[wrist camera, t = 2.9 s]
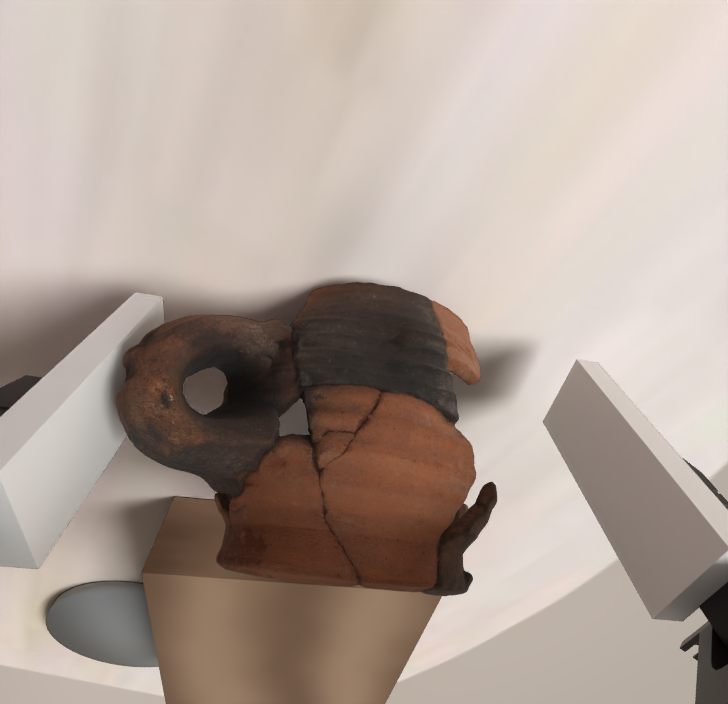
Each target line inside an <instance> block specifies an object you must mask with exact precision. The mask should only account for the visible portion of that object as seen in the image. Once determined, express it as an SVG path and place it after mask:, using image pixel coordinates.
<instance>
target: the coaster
mask: <svg viewBox="0 0 728 704" xmlns="http://www.w3.org/2000/svg"><path fill="white" fill-rule="evenodd" d="M46 626H47V629H48V631H49V633H50V634H51V635H52V636H53V638H54V639H55V640H57V641H58V642H59V643H60V644H62V645H63V646H65V647H66V648H68V649H70V650H72V651H73V652H76V653H78V654H80V655H83V656H85V657H88V658H91V659H94V660H98V661H101V662H106V663H110V664H116V665H122V666H131V667H159V664H158V659H157V653H156V648H155V643H154V637H153V632H152V627H151V621H150V616H149V611H148V605H147V600H146V595H145V589H144V584H141V583H134V582H122V581H106V582H95V583H89V584H84V585H80V586H77V587H74V588H72V589H69V590H67V591H66V592H64V593H62V594H61V595H60V596H59V597H58V598H57V599H56V600H55V602H54V604H53V605H52V607H51V609H50V610H49V612H48V614H47V617H46Z"/></svg>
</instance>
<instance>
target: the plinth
mask: <svg viewBox="0 0 728 704" xmlns="http://www.w3.org/2000/svg"><path fill="white" fill-rule="evenodd" d="M225 527H226V525H225V522H224V520H223V517H222V515H221V514H220V512H219V511H218V507H217V506H216V503H215V500H204V499H194V498H183V497H174V499H173V501H172V503H171V505H170V508H169V510H168V512H167V515H166V517H165V519H164V522H163V524H162V526H161V529H160V531H159V533H158V536H157V538H156V540H155V543H154V545H153V547H152V549H151V552H150V554H149V556H148V559H147V561H146V563H145V566H144V568H143V570H142V579H143V584H144V589H145V595H146V600H147V605H148V611H149V616H150V621H151V627H152V632H153V637H154V643H155V648H156V653H157V659H158V664H159V669H160V675H161V680H162V685H163V691H164V696H165V701H166V704H385V703H386V701H387V699H388V697H389V695H390V694H391V692H392V690H393V688H394V686H395V684H396V682H397V680H398V678H399V677H400V675H401V673H402V671H403V669H404V667H405V665H406V663H407V661H408V660H409V658H410V656H411V654H412V652H413V650H414V648H415V646H416V644H417V643H418V641H419V639H420V637H421V635H422V633H423V631H424V629H425V627H426V626H427V624H428V622H429V620H430V618H431V616H432V614H433V612H434V610H435V608H436V607H437V605H438V603H439V601H440V599H441V597H442V596H435V595H428V594H424V593H422V592H402V591H391V590H381V589H371V588H365V587H363V586H360V585H356V586H353V587H344V586H333V585H327V584H315V583H307V582H299V581H291V580H280V579H272V578H266V577H257V576H251V575H247V574H243V573H238V572H234V571H230V570H226V569H224V568H223V567H221V566H219V564H218V563H217V562H216V557H217V554H218V552H219V551H220V549H221V546H222V541H223V537H224V533H225Z"/></svg>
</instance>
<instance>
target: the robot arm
mask: <svg viewBox="0 0 728 704" xmlns="http://www.w3.org/2000/svg"><path fill="white" fill-rule="evenodd" d="M164 323H165V319H164V308H163V296H156V295H150V294H143V293H136V292H135V293H134V294H133V295H132V296H131V297H130V298H129V299H128V300H127V301H125V302H124V303H123V304H122V305H121V306H120V307H119V308H118V309H117V310H116V311H115V312H114V313H112V314H111V315H110V316H109V317H108V318H107V319H106V320H105V321H104V322H103V323H102V324H101V325H99V326H98V327H97V328H96V329H95V330H94V331H93V332H92V333H91V334H90V335H89V336H88V337H86V338H85V339H84V340H83V341H82V342H81V343H80V344H79V345H78V346H77V347H76V348H75V349H73V350H72V351H71V352H70V353H69V354H68V355H67V356H66V357H65V358H64V359H63V360H62V361H60V362H59V363H58V364H57V365H56V366H55V367H54V368H53V369H52V370H51V371H50V372H49V373H47V374H46V375H45V376H44V377H43V378H42V377H34V376H24V377H22V378H20V379H18V380H16V381H14V382H12V383H10V384H7V385H5V386H3V387H1V388H0V566H5V567H17V568H29V569H39V568H40V566H41V565H42V563H43V562H44V560H45V559H46V557H47V556H48V554H49V553H50V551H51V550H52V548H53V547H54V545H55V544H56V542H57V541H58V539H59V538H60V536H61V535H62V533H63V532H64V530H65V529H66V527H67V525H68V524H69V522H70V521H71V519H72V518H73V516H74V515H75V513H76V512H77V510H78V509H79V507H80V506H81V504H82V503H83V501H84V500H85V498H86V497H87V495H88V494H89V492H90V491H91V489H92V488H93V486H94V485H95V483H96V482H97V480H98V479H99V477H100V476H101V474H102V473H103V471H104V470H105V468H106V467H107V465H108V463H109V462H110V460H111V459H112V457H113V456H114V454H115V453H116V451H117V450H118V448H119V447H120V445H121V444H122V442H123V441H124V439H125V438H126V436H127V434H126V432H125V430H124V427H123V425H122V423H121V421H120V418H119V415H118V411H117V406H116V396H117V394H118V392H119V391H120V390H121V389H122V386H123V385H124V383H125V379H126V369H125V367H124V365H123V357H124V355H125V353H126V352H127V351H128V350H129V349H130V348H131V347H133V346H135V345H137V344H139V343H140V341H141V340H142V339H143V337H144V336H145V335H146V334H147V333H148V332H150V331H151V330H153V329H155V328H157V327H159V326H160V325H162V324H164ZM543 423H544V425H545V427H546V428H547V430H548V432H549V434H550V436H551V437H552V439H553V441H554V443H555V445H556V446H557V448H558V450H559V452H560V454H561V455H562V457H563V459H564V461H565V463H566V464H567V466H568V468H569V470H570V472H571V473H572V475H573V477H574V479H575V481H576V482H577V484H578V486H579V488H580V490H581V491H582V493H583V495H584V497H585V499H586V500H587V502H588V504H589V506H590V508H591V509H592V511H593V513H594V515H595V516H596V518H597V520H598V522H599V524H600V525H601V527H602V529H603V531H604V533H605V534H606V536H607V538H608V540H609V542H610V543H611V545H612V547H613V549H614V551H615V552H616V554H617V556H618V558H619V560H620V561H621V563H622V565H623V567H624V568H625V570H626V572H627V574H628V576H629V578H630V579H631V581H632V583H633V585H634V587H635V588H636V590H637V592H638V594H639V596H640V597H641V599H642V601H643V603H644V605H645V606H646V608H647V610H648V612H649V613H650V615H651V617H652V619H660V620H672V621H684V620H685V619H686V618H687V617H688V616H690V615H691V614H692V613H693V612H694V611H695V610H697V609H698V608H699V607H700V609H701V610H702V611H703V613H704V615H705V616H706V617H707V619H708V622H707V623H705V624H704V625H703V626H702V627H700V628H699V629H698V630H697V631H695V632H694V633H693V634H691V635H690V636H689V637H688V638H686V639H685V640H684V641H683V642H682V644H681V646H680V649H682V650H683V651H687V650H688V649H690V648H691V647H692V646H693V645H699V652H698V653H697V654H696V655H694V656H693V658H695V659H696V660H697V661H698V667H697V668H698V669H697V684H696V701H695V704H728V501H727V500H726V499H725V498H724V497H723V496H722V495H721V494H718V493H717V492H718V490H717V489H716V488H715V487H714V486H713V485H712V484H711V482H710V481H709V480H708V479H707V478H706V477H705V476H704V475H703V474H702V473H701V472H700V471H699V470H697V469H696V468H695V467H694V466H692V465H691V464H690V463H688V462H687V461H686V460H685V459H683V458H682V457H681V456H680V455H679V454H678V453H677V452H676V450H675V449H674V448H673V447H672V446H671V445H670V444H669V442H668V441H667V440H666V439H665V438H664V437H663V436H662V435H661V433H660V432H659V431H658V430H657V429H656V428H655V427H654V425H653V424H652V423H651V422H650V421H649V420H648V419H647V417H646V416H645V415H644V414H643V413H642V412H641V411H640V409H639V408H638V407H637V406H636V405H635V404H634V403H633V401H632V400H631V399H630V398H629V397H628V396H627V395H626V394H625V392H624V391H623V390H622V389H621V388H620V387H619V386H618V384H617V383H616V382H615V381H614V380H613V379H612V378H611V376H610V375H609V374H608V373H607V372H606V371H605V370H604V368H603V367H602V366H601V365H600V364H599V363H598V362H592V361H585V360H578V359H577V360H576V362H575V363H574V365H573V367H572V369H571V371H570V373H569V374H568V376H567V378H566V380H565V382H564V384H563V385H562V387H561V389H560V391H559V393H558V395H557V396H556V398H555V400H554V402H553V404H552V406H551V407H550V409H549V411H548V413H547V415H546V417H545V418H544V420H543Z"/></svg>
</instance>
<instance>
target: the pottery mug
mask: <svg viewBox="0 0 728 704" xmlns="http://www.w3.org/2000/svg"><path fill="white" fill-rule="evenodd" d="M123 365H124V367H125V369H126V379H125V383H124V385H123V386H122V389H121V390H120V391H119V392H118V394H117V396H116V406H117V411H118V415H119V418H120V421H121V423H122V425H123V427H124V430H125V432H126V434H127V436H128V437H129V439H130V440H131V441H132V443H133V444H134V446H135V447H136V448H137V449H138V450H140V451H141V452H142V453H143V454H144V455H146V456H148V457H149V458H151V459H153V460H154V461H157V462H158V463H160V464H162V465H165V466H167V467H170V468H173V469H176V470H181V471H185V472H189V473H192V474H195V475H198V476H200V477H201V478H203V479H204V480H205V481H206V482H207V483H208V484H209V486H210V487H211V488H212V489H213V490H215V491H216V492H218V493H216V494H215V497H214V499H215V503H216V506H217V507H218V511H219V512H220V514H221V515H222V517H223V520H224V522H225V525H226V527H225V533H224V537H223V541H222V546H221V549H220V551H219V552H218V554H217V557H216V562H217V563H218V564H219V566H221V567H223V568H224V569H226V570H230V571H234V572H238V573H243V574H247V575H251V576H257V577H266V578H272V579H280V580H291V581H299V582H307V583H315V584H327V585H333V586H344V587H353V586H356V585H360V586H363V587H365V588H371V589H381V590H391V591H402V592H422V593H424V594H428V595H435V596H449V595H458V594H463V593H465V592H467V590H468V588H469V586H470V584H471V582H472V580H473V577H472V575H471V574H470V573H468V572H466V571H464V568H463V553H464V552H465V550H466V549H467V548H468V547H469V546H470V545H471V544H472V543H473V541H475V540H476V538H477V537H478V535H479V533H480V532H481V531H482V529H483V528H484V527H485V526H486V524H487V523H488V520H489V517H490V514H491V512H492V509H493V508H494V506H495V505H496V503H497V491H496V485H495V484H494V483H493V482H489V483H487V484H485V485H484V486H483V487H482V489H481V491H480V493H479V495H478V497H477V500H476V502H475V504H474V505H473V506H471V507H470V508H469V509H468V506H467V505H466V504H463V503H464V501H465V500H466V498H467V495H468V492H469V490H470V488H471V487H472V485H473V483H474V481H475V479H476V471H475V467H474V454H473V449H472V446H471V444H470V442H469V441H468V440H467V439H466V438H465V437H464V436H463V435H462V433H461V432H460V431H459V430H457V429H456V428H455V423H456V422H457V421H458V420H459V416H458V412H457V401H456V395H455V393H454V392H453V387H452V377H451V374H450V373H449V371H451V372H452V373H453V374H455V375H457V376H458V377H459V378H461V379H462V380H463V381H465V382H466V383H467V384H468V385H473V384H475V383H477V382H478V381H479V380H480V378H481V372H480V366H479V362H478V359H477V356H476V353H475V350H474V348H473V346H472V344H471V342H470V337H469V332H468V328H467V326H466V325H465V324H464V323H463V321H462V320H461V319H460V318H459V317H458V316H457V315H455V314H454V313H453V312H452V311H451V310H449V309H448V308H446V307H444V306H442V305H440V304H439V303H437V302H435V301H431V300H429V299H428V298H427V297H425V296H422V295H419V294H417V293H413V292H409V291H406V290H404V289H402V288H400V287H396V286H384V285H378V284H374V283H359V282H355V283H347V284H343V285H334V286H328V287H325V288H320V289H317V290H314V291H313V292H312V293H311V294H310V296H309V298H308V300H307V302H306V304H305V307H304V308H303V309H302V310H301V311H300V312H299V314H298V315H297V318H296V320H295V321H294V322H293V323H292V324H291V325H290V326H287V325H286V324H284V323H283V322H282V321H280V320H278V319H272V320H269V321H265V322H258V321H254V320H251V319H247V318H242V317H236V316H229V315H195V316H188V317H184V318H180V319H177V320H174V321H171V322H168V323H164V324H162V325H160V326H159V327H157V328H155V329H153V330H151V331H150V332H148V333H147V334H146V335H145V336H144V337H143V339H142V340H141V341H140V343H139V344H137V345H135V346H133V347H131V348H130V349H129V350H128V351H127V352H126V353H125V355H124V357H123ZM210 367H216V368H218V369H219V370H221V371H222V372H224V374H225V376H226V379H227V386H226V389H225V391H224V401H223V403H222V405H221V406H220V407H219V408H217V409H215V410H213V411H211V412H210V413H208V414H207V415H202V414H200V413H198V412H197V411H195V410H194V409H192V408H191V407H190V406H189V404H188V403H187V402H186V400H185V397H184V395H183V383H184V380H185V379H186V378H187V377H188V376H190V375H192V374H194V373H196V372H198V371H200V370H203V369H206V368H210ZM300 398H301V399H303V402H304V403H305V407H306V412H307V418H308V425H309V427H308V431H309V434H310V435H295V434H290V435H286V436H282V437H280V436H279V428H280V423H279V419H278V418H279V417H280V416H281V415H282V414H284V413H285V412H286V411H287V410H288V409H289V408H290V407H291V406H292V405H293V404H294V403H295V402H297V401H298V399H300Z"/></svg>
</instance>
